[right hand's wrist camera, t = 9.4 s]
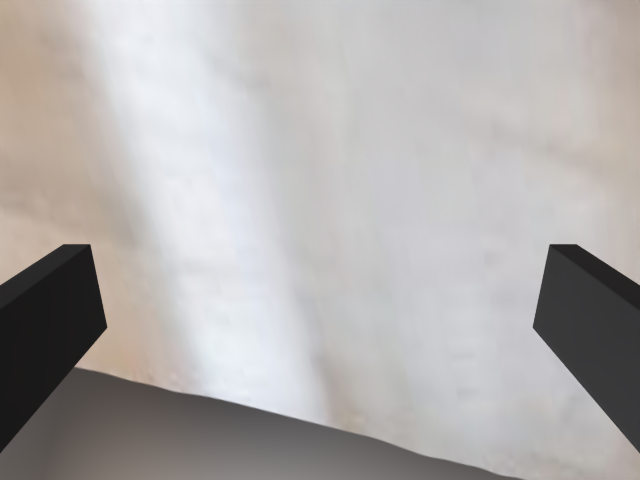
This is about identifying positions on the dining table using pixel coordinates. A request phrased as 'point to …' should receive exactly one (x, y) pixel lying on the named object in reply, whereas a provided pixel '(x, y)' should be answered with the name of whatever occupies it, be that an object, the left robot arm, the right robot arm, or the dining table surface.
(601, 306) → the right robot arm
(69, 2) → the dining table surface
